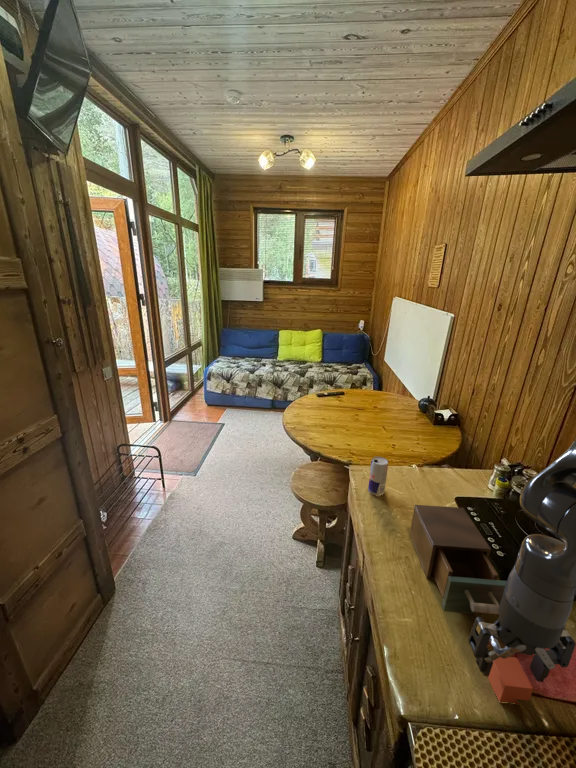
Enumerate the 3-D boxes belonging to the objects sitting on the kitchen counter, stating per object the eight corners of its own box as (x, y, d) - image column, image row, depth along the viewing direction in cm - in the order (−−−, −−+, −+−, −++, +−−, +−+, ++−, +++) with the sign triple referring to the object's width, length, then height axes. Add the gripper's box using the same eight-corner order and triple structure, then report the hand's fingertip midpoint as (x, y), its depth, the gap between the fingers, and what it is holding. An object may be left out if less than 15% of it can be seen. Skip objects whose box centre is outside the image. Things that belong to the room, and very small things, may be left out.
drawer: (512, 638, 60) (523, 606, 57) (452, 632, 60) (460, 601, 58) (471, 564, 75) (478, 537, 73) (423, 560, 76) (428, 533, 74)
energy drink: (366, 486, 106) (369, 455, 102) (382, 487, 106) (385, 456, 102) (369, 496, 101) (373, 464, 97) (386, 497, 100) (390, 465, 97)
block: (510, 674, 55) (516, 657, 53) (526, 706, 51) (533, 688, 49) (485, 671, 55) (490, 654, 54) (499, 703, 51) (505, 685, 50)
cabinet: (482, 583, 72) (491, 549, 69) (426, 578, 72) (433, 545, 69) (456, 538, 85) (463, 507, 81) (409, 534, 85) (414, 504, 82)
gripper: (565, 583, 50) (537, 652, 55) (474, 575, 51) (455, 643, 56) (607, 633, 43) (571, 706, 48) (500, 622, 44) (476, 695, 49)
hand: (508, 672), depth 52 cm, fingers open, 8 cm apart
